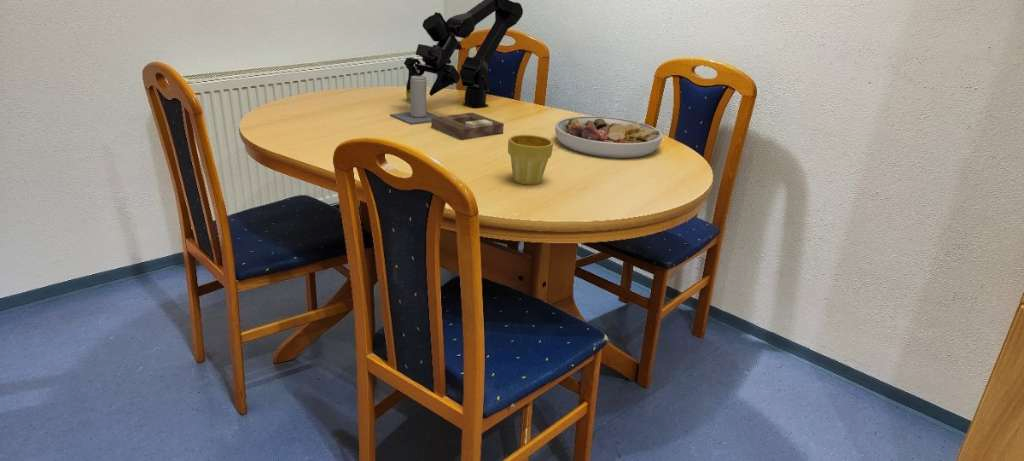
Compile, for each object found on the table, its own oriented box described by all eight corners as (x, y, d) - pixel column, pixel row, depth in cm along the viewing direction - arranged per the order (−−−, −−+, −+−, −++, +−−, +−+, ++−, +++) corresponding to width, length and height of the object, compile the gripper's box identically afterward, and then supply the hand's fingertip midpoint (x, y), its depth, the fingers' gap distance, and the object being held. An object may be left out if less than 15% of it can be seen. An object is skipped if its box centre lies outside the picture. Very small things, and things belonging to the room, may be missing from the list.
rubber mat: (423, 111, 214) (423, 110, 214) (444, 120, 206) (444, 118, 206) (390, 115, 207) (390, 114, 207) (411, 124, 199) (411, 123, 198)
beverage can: (429, 116, 207) (429, 77, 202) (419, 119, 203) (419, 79, 198) (417, 113, 209) (417, 75, 205) (407, 116, 205) (407, 77, 201)
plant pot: (558, 181, 159) (562, 141, 155) (530, 190, 151) (533, 148, 148) (525, 170, 165) (528, 131, 161) (496, 178, 158) (499, 138, 154)
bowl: (581, 126, 210) (583, 102, 207) (673, 145, 197) (677, 118, 194) (535, 146, 186) (537, 119, 183) (637, 169, 173) (641, 139, 170)
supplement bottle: (405, 100, 228) (405, 71, 224) (420, 100, 229) (421, 71, 226) (407, 104, 223) (407, 74, 219) (423, 104, 225) (424, 74, 221)
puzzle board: (472, 122, 206) (472, 109, 205) (503, 133, 196) (503, 120, 194) (431, 127, 197) (431, 114, 195) (461, 140, 187) (461, 126, 185)
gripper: (407, 30, 206) (382, 70, 202) (454, 38, 196) (429, 80, 192) (425, 54, 215) (401, 93, 211) (470, 62, 206) (446, 103, 202)
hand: (418, 92), depth 204 cm, fingers open, 9 cm apart
